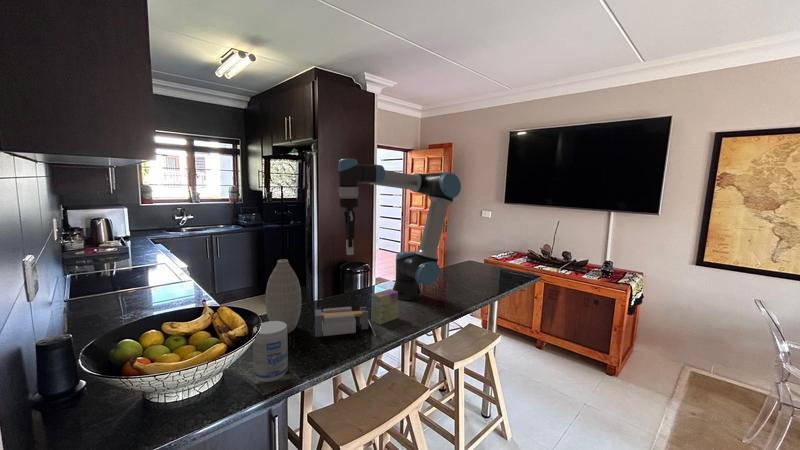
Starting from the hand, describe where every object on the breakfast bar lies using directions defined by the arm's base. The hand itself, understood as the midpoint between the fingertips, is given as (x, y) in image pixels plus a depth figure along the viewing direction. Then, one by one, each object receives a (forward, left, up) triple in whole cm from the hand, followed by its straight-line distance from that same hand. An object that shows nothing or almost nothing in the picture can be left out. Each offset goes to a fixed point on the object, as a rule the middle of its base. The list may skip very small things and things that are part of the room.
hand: (350, 254), depth 135 cm
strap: (+5, +11, -22) cm, 25 cm away
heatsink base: (+5, +11, -28) cm, 30 cm away
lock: (+13, +14, -27) cm, 33 cm away
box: (-14, +4, -28) cm, 32 cm away
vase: (+26, +7, -28) cm, 39 cm away
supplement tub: (+28, +35, -28) cm, 53 cm away
